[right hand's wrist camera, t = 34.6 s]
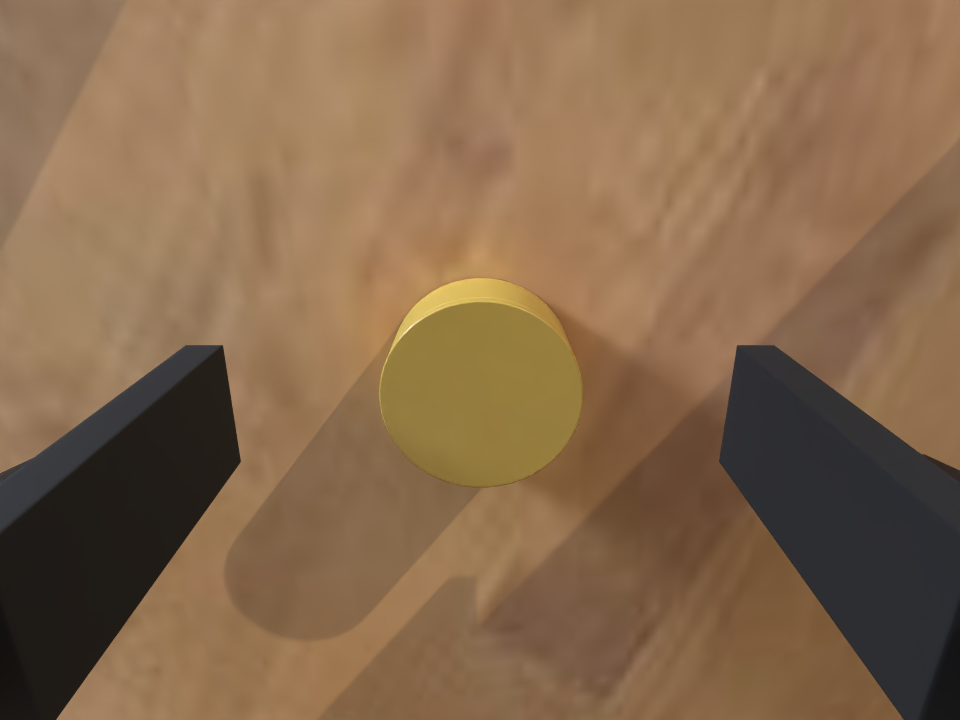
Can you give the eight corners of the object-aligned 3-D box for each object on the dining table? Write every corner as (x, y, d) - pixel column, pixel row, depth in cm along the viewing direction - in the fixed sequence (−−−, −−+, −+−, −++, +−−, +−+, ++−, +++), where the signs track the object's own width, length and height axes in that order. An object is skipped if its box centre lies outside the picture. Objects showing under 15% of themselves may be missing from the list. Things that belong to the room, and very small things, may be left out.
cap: (545, 458, 16) (554, 503, 14) (378, 426, 16) (364, 468, 14) (591, 299, 15) (608, 325, 13) (408, 260, 14) (397, 280, 13)
